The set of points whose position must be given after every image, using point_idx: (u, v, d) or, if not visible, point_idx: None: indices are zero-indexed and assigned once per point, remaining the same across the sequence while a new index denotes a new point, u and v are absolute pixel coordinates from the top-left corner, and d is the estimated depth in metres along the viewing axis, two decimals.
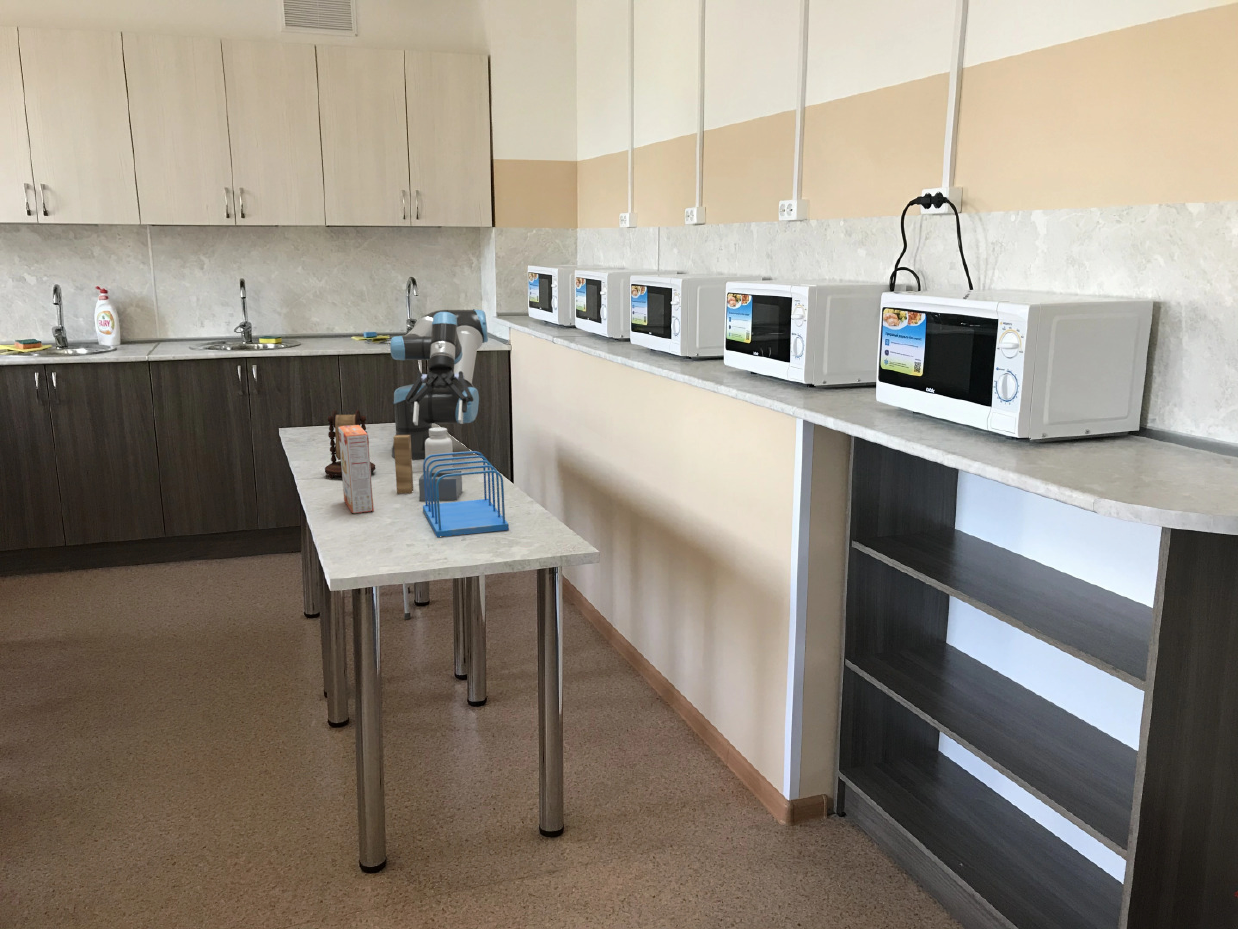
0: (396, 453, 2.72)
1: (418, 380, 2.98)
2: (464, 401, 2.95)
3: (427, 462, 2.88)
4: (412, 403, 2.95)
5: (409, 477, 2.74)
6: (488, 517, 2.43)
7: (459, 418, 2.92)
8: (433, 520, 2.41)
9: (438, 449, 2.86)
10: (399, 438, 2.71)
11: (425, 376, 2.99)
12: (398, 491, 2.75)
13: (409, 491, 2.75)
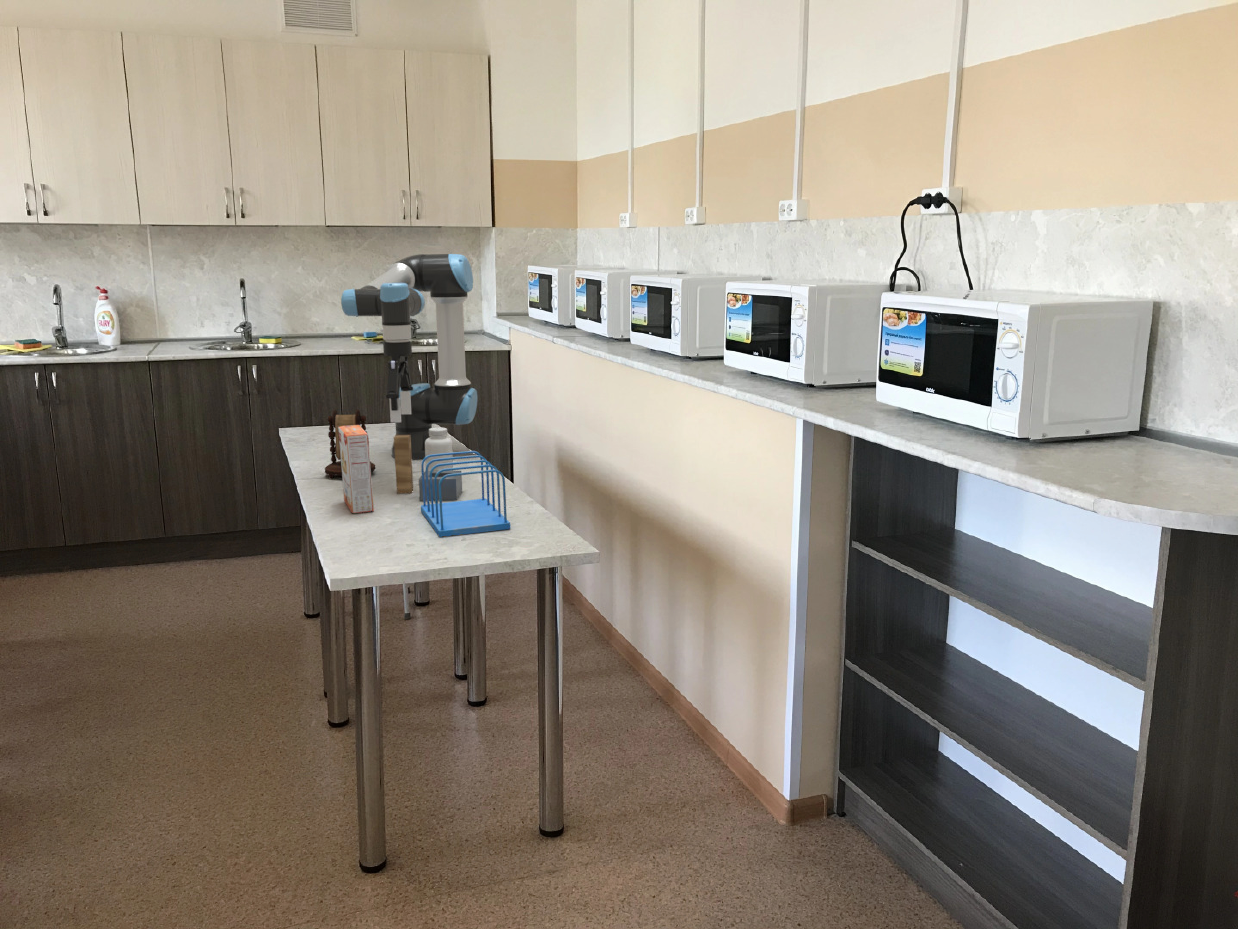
0: (396, 453, 2.72)
1: None
2: (391, 399, 2.63)
3: (427, 462, 2.88)
4: None
5: (409, 477, 2.74)
6: (489, 517, 2.44)
7: None
8: (434, 520, 2.41)
9: (438, 449, 2.86)
10: (399, 438, 2.71)
11: None
12: (398, 491, 2.75)
13: (409, 491, 2.75)
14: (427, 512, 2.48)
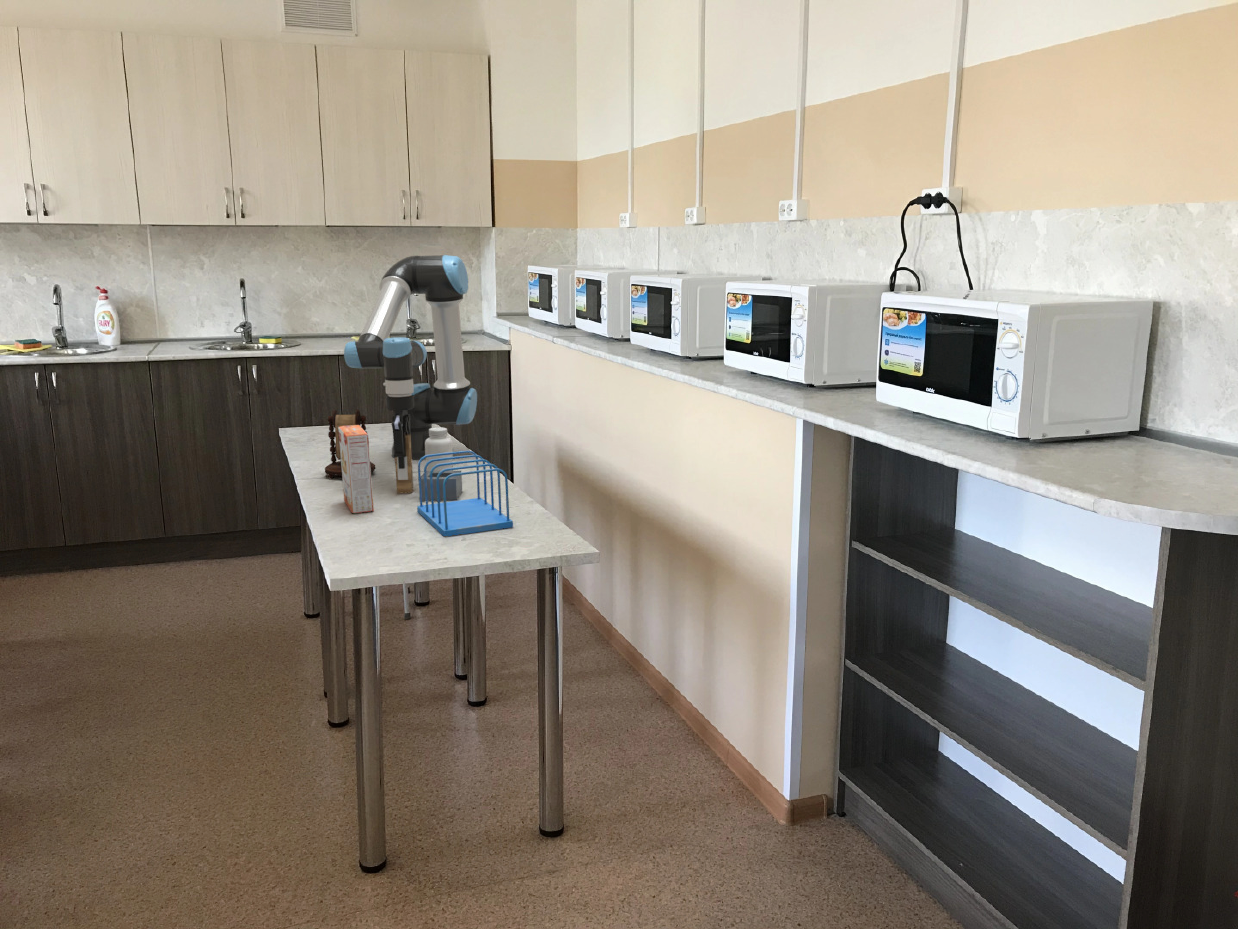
0: None
1: None
2: (398, 457, 2.71)
3: None
4: None
5: (409, 477, 2.74)
6: (490, 515, 2.45)
7: None
8: (435, 520, 2.41)
9: (438, 449, 2.86)
10: None
11: None
12: (398, 491, 2.75)
13: (409, 491, 2.75)
14: (426, 512, 2.48)
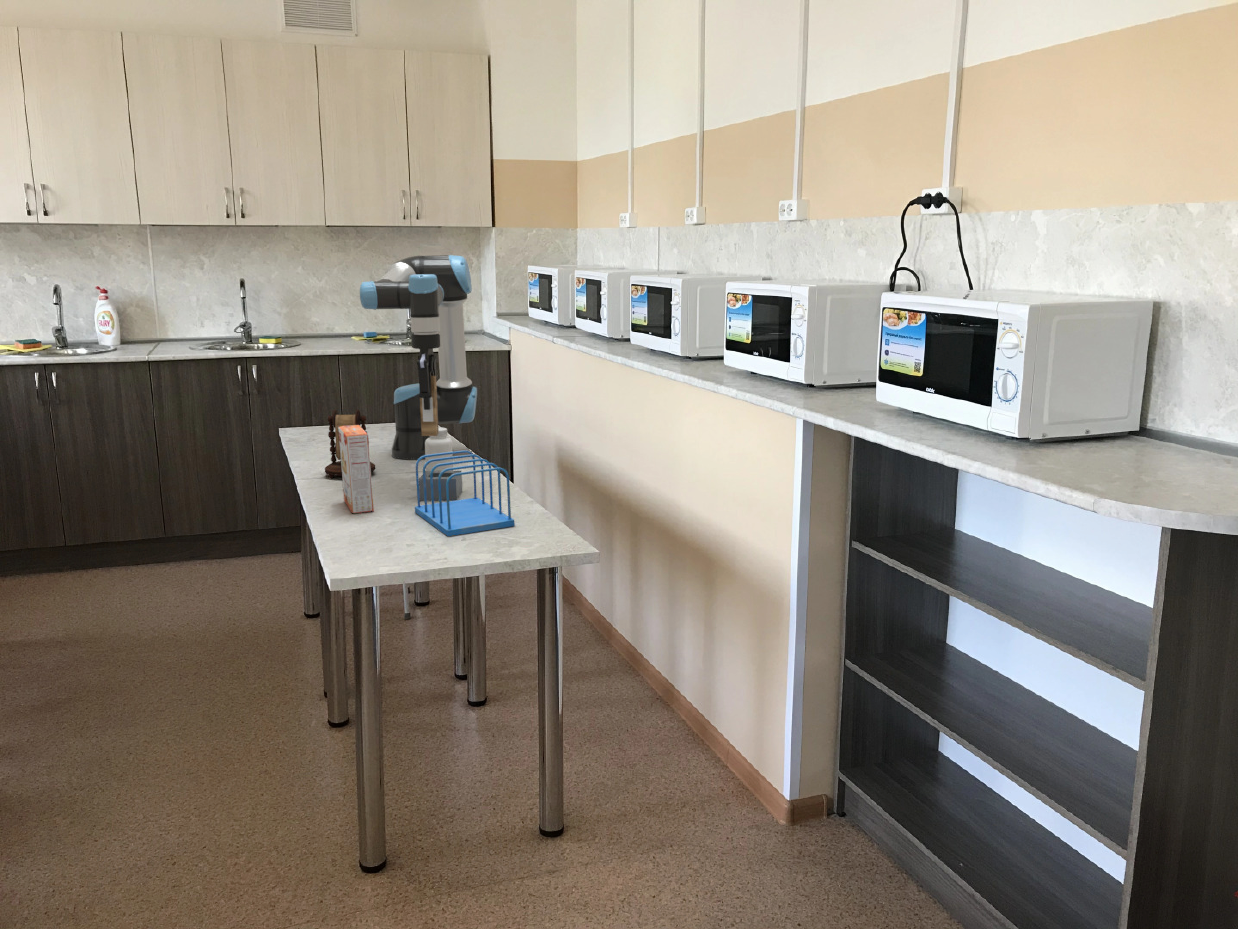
0: None
1: None
2: (423, 398, 2.63)
3: None
4: None
5: (434, 419, 2.66)
6: (490, 515, 2.45)
7: None
8: (436, 520, 2.41)
9: (438, 449, 2.86)
10: None
11: None
12: (423, 433, 2.67)
13: (434, 433, 2.67)
14: (425, 513, 2.48)
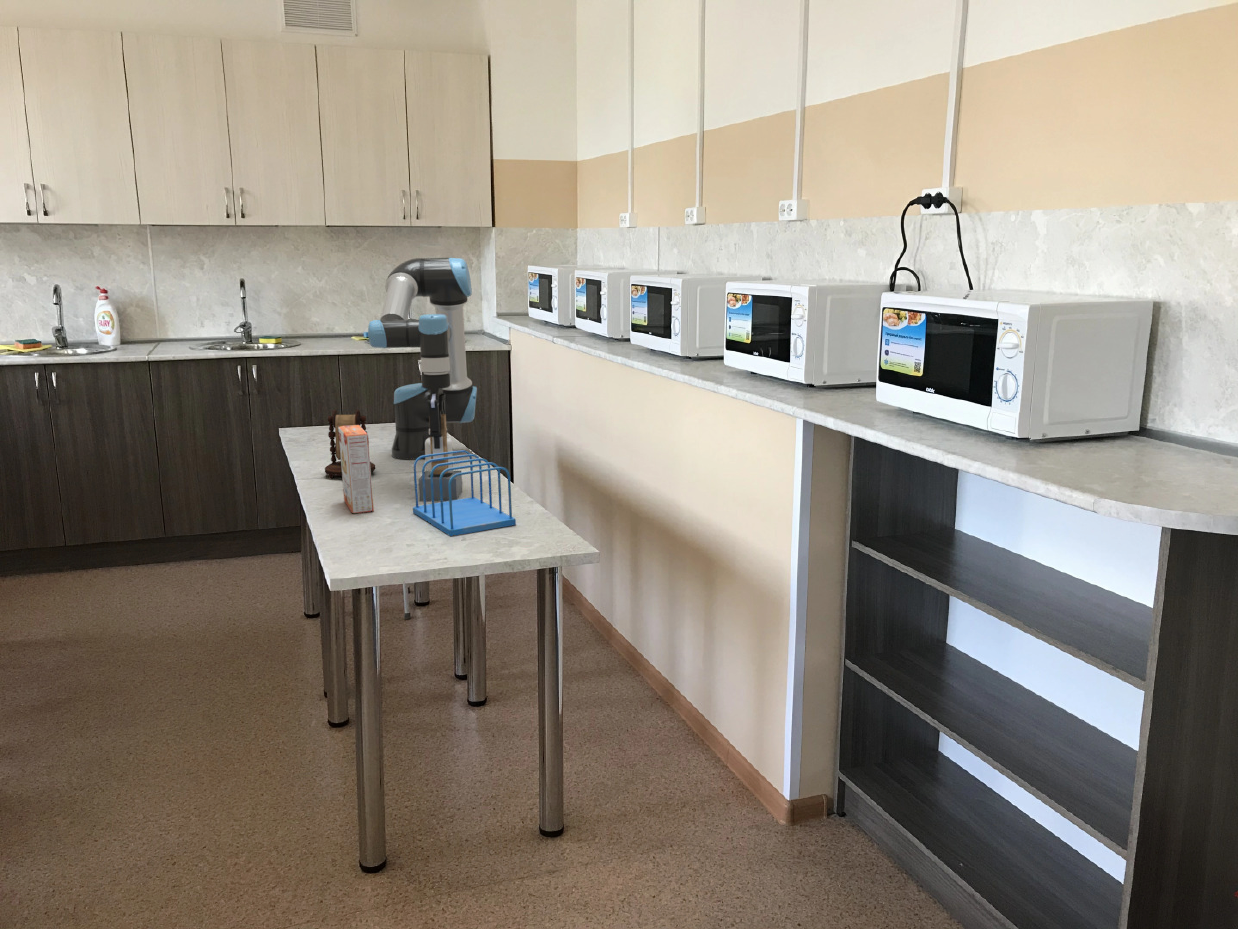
0: None
1: None
2: (434, 437, 2.65)
3: None
4: None
5: None
6: (491, 514, 2.46)
7: None
8: (437, 520, 2.41)
9: None
10: None
11: None
12: (433, 472, 2.68)
13: None
14: (424, 513, 2.48)
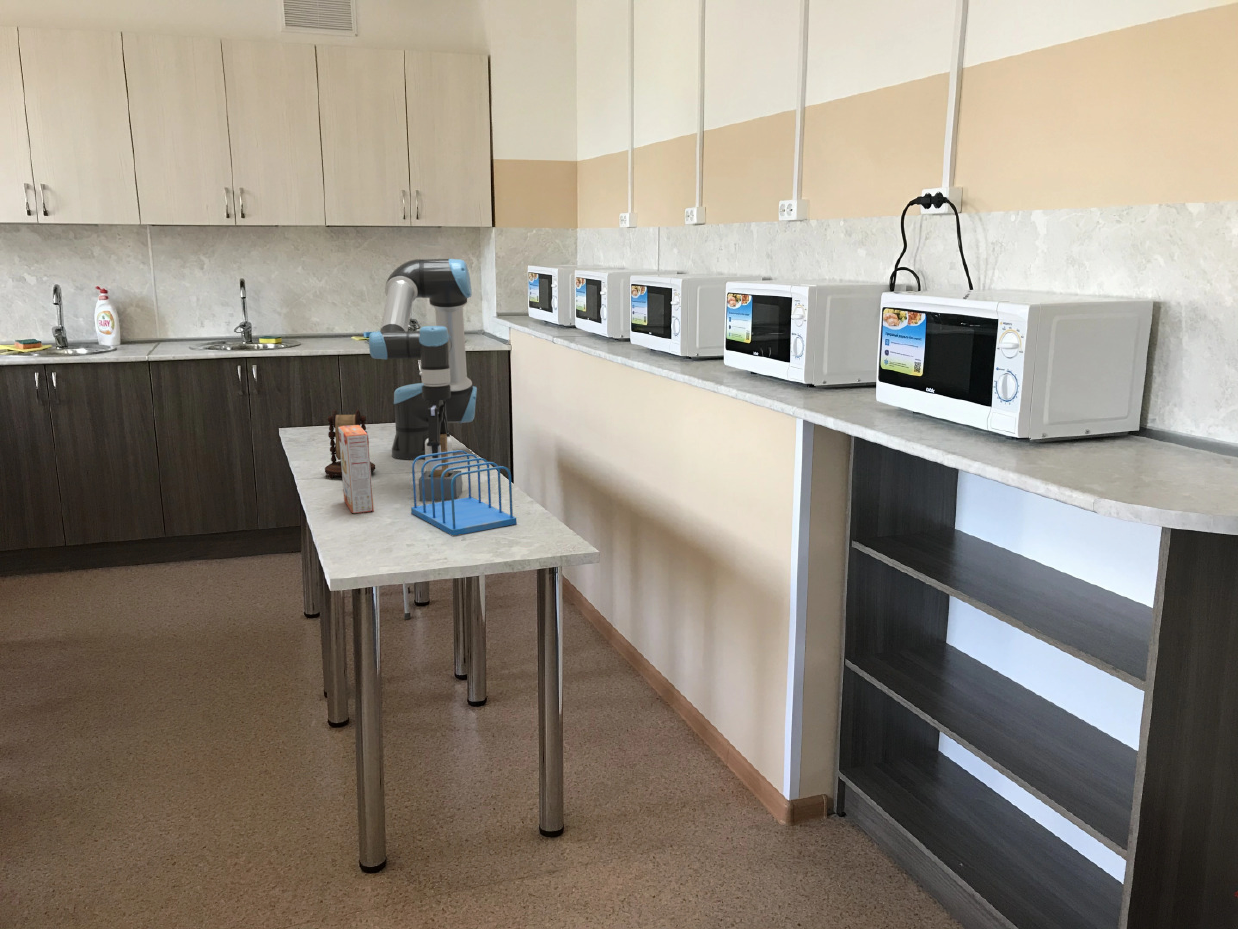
0: None
1: None
2: (431, 446, 2.62)
3: None
4: None
5: None
6: (491, 513, 2.47)
7: None
8: (438, 520, 2.41)
9: None
10: None
11: None
12: None
13: None
14: (424, 513, 2.48)
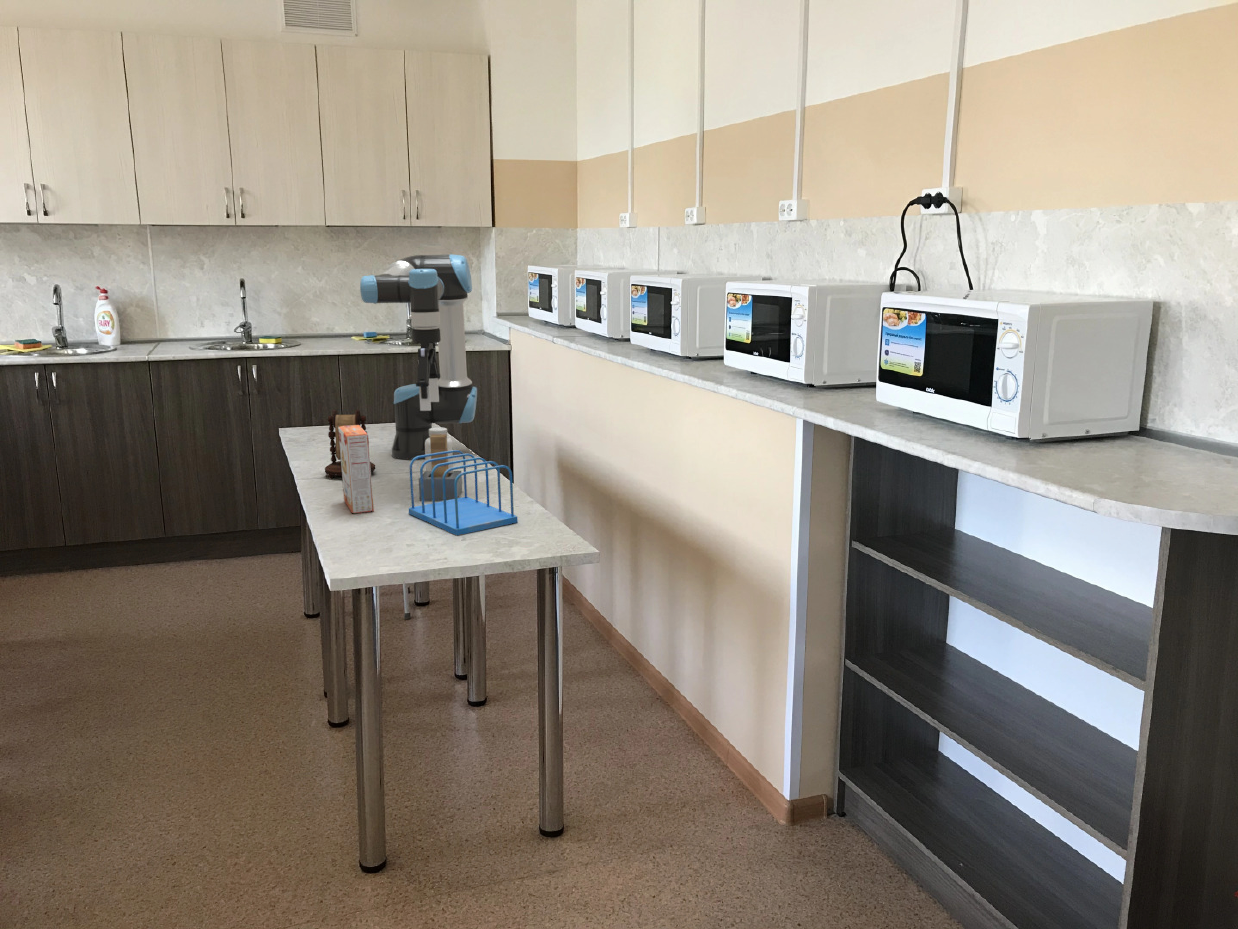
0: (432, 453, 2.67)
1: None
2: (421, 387, 2.60)
3: None
4: None
5: None
6: (491, 512, 2.47)
7: None
8: (439, 520, 2.41)
9: None
10: (436, 437, 2.66)
11: None
12: None
13: None
14: (423, 513, 2.47)
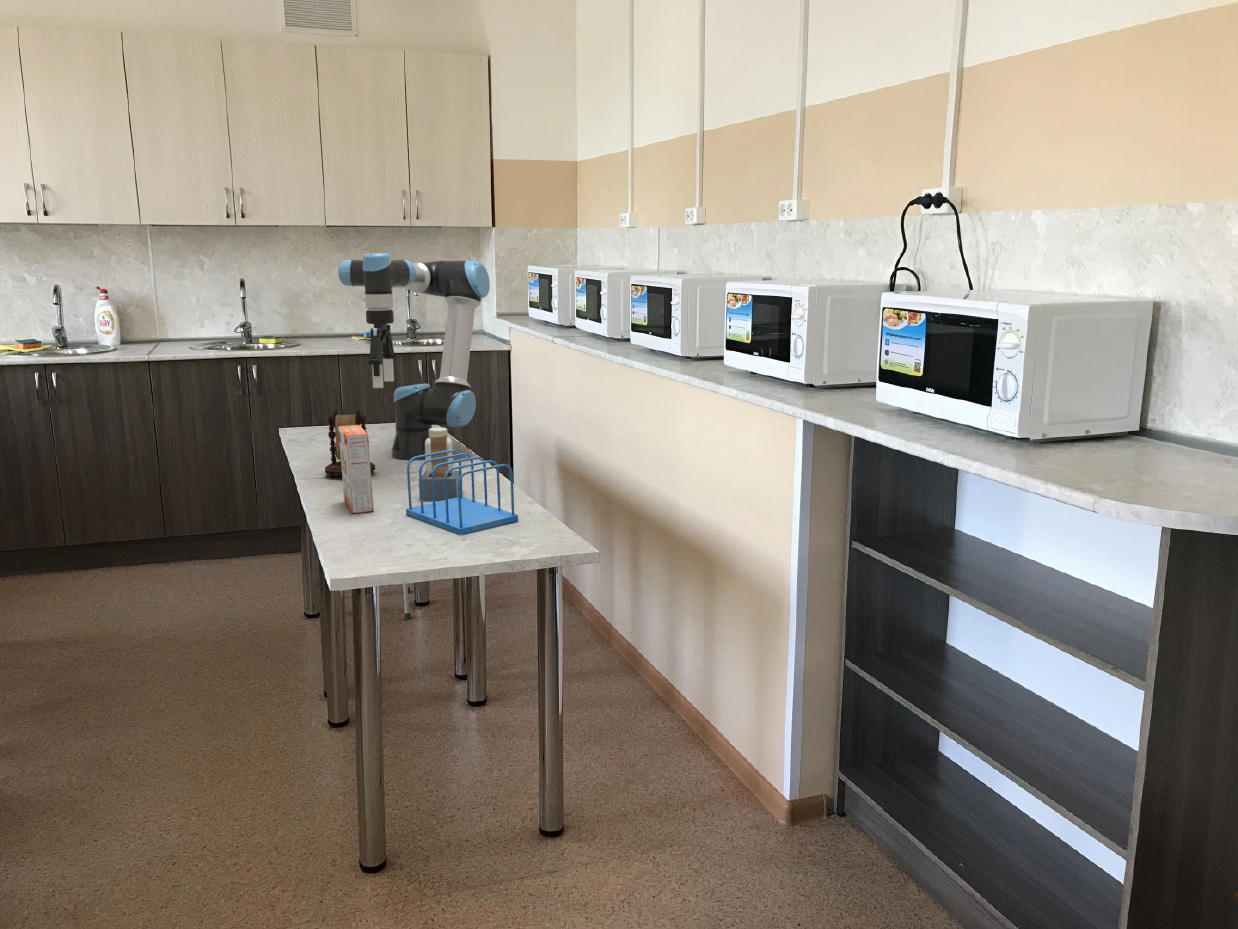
0: None
1: None
2: None
3: (427, 462, 2.88)
4: None
5: None
6: (490, 511, 2.48)
7: None
8: (440, 520, 2.41)
9: None
10: (436, 437, 2.66)
11: None
12: None
13: None
14: (422, 514, 2.47)
